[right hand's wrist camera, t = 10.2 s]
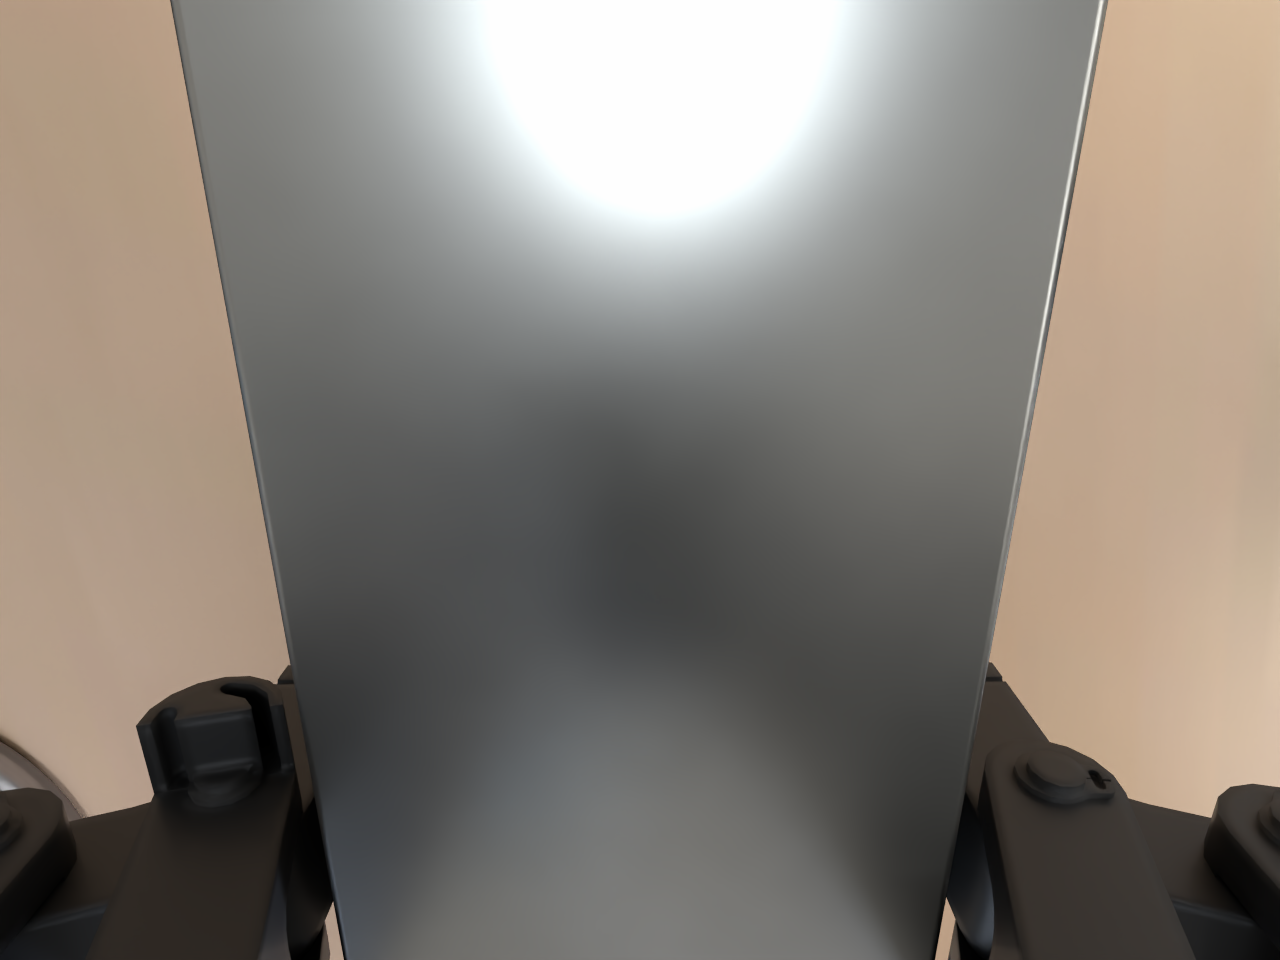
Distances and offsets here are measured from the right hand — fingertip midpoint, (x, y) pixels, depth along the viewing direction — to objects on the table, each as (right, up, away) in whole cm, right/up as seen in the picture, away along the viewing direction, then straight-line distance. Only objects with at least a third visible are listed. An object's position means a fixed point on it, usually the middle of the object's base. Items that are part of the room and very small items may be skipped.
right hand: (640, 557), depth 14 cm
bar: (0, +10, -3) cm, 11 cm away
